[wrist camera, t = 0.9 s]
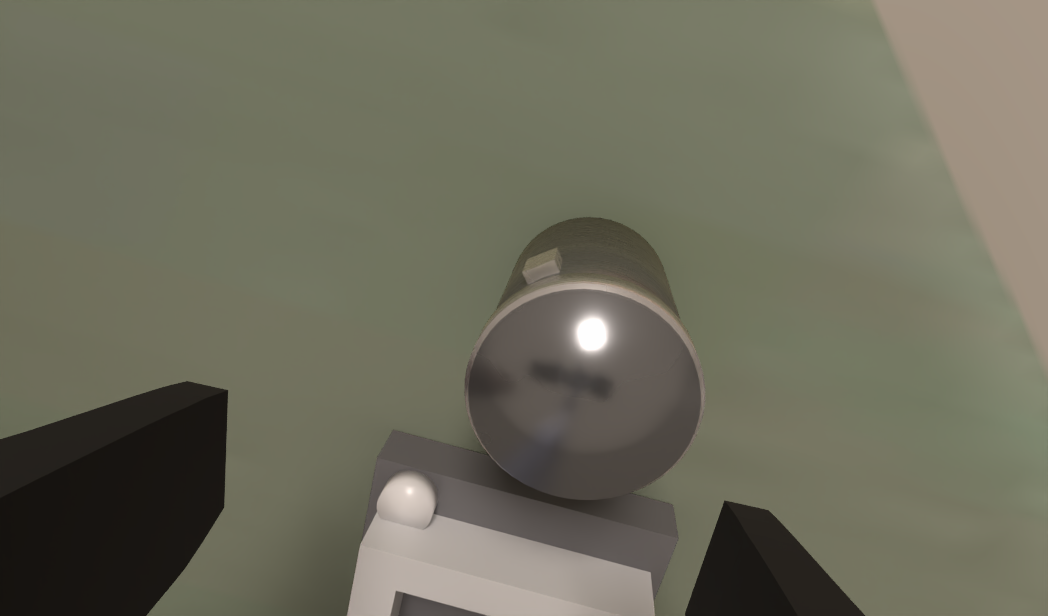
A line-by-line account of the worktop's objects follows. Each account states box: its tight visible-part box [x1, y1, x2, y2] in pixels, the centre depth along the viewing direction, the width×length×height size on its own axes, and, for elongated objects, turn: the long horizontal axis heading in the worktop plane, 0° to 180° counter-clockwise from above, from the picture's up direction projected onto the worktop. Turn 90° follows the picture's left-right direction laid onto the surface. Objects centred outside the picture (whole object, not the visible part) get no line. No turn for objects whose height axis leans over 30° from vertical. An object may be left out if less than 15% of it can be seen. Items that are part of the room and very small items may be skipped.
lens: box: [465, 217, 705, 500], centre depth 16 cm, size 5×5×6 cm
